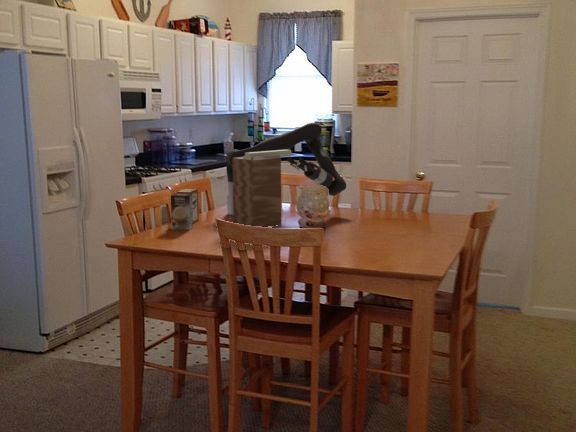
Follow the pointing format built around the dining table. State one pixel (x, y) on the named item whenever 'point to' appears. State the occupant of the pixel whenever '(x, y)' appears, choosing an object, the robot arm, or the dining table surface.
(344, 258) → the dining table surface
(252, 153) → the sage bar
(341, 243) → the dining table surface
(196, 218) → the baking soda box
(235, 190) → the shelf stand
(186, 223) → the coffee box
